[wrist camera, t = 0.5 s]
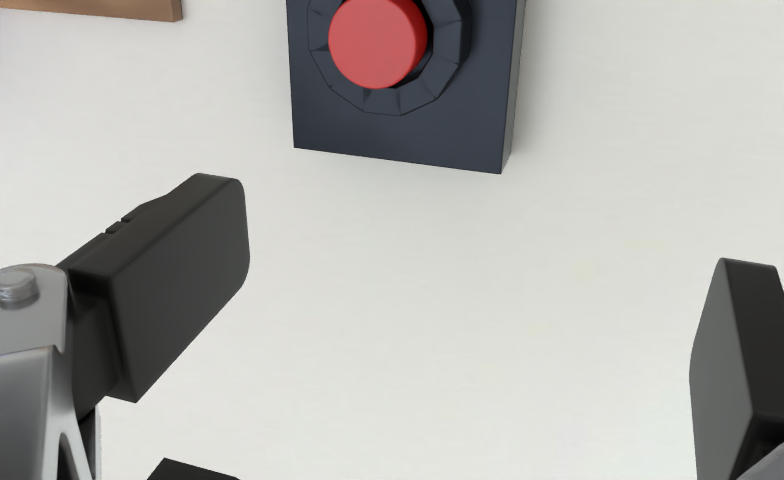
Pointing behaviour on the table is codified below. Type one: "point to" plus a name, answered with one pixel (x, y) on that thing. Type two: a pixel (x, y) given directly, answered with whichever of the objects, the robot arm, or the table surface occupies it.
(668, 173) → the table surface
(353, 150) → the housing
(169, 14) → the wooden board
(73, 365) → the robot arm
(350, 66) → the button
